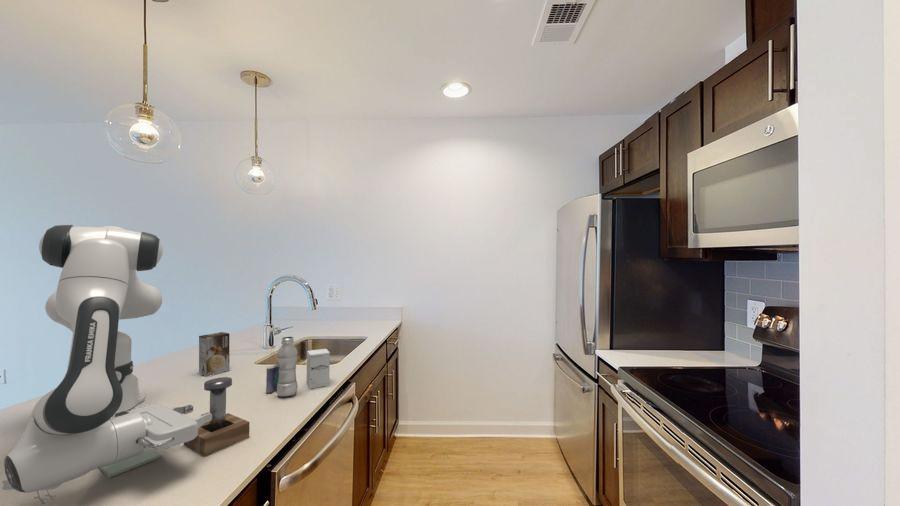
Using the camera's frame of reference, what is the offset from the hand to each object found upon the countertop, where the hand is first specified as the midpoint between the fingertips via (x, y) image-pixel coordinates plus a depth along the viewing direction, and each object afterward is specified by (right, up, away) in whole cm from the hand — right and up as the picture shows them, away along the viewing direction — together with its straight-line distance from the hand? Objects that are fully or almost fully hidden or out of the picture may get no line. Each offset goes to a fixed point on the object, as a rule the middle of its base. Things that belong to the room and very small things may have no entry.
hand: (201, 411), depth 86 cm
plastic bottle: (+6, -10, +33) cm, 35 cm away
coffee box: (-37, -11, +58) cm, 69 cm away
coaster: (-12, -9, -6) cm, 16 cm away
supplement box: (+12, -10, +44) cm, 47 cm away
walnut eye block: (+2, -9, +3) cm, 10 cm away
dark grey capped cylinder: (+2, -9, +3) cm, 10 cm away
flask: (0, -10, +39) cm, 40 cm away
